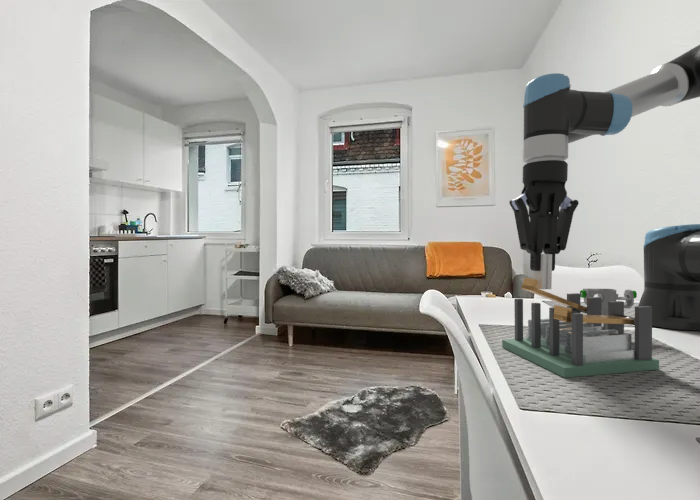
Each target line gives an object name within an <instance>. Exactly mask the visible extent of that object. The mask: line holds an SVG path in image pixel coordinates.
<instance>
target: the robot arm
mask: <svg viewBox="0 0 700 500" xmlns="http://www.w3.org/2000/svg"><path fill="white" fill-rule="evenodd" d="M570 82H571V81H570V78H569V76H568V75H565V74H564V73H557V72H555V73H547V74H542V75H539V76H537V77H534V78H533V79H531V80H530V81H528V82H527V84H526V85H525V91H524V98H523V151H522V153H523V154H522V157H523V159H522V162H523V163H525V164H524V165H523V166H522V183H523V188H522V190H521V195H518V197H516V198H513V199H512V198H511V199H510V200H509V205H510V207H511V209H512V211H513V214H514V218H515V225H516V231H517V235H518V242H519V246H520V247H519V248H520V249H521V250H523V251H525V252H527V253H528V254H529V255H530V256H529V259H530V260H529V264H530V266H529V267H530V271H532V272H533V273H532V274H533V275H532V276H533V277H532V279H536V280H538V283H537V286H536V288H538V289H540V290H552V277H553V276H552V275H553V272H554V271H555V268H556V255H558V254H560V252H561V251H565V250H566V248H567V244H568V240H569V235H570V231H571V225H572V222H573V221H572V220H573V217H574V212H575V211H576V209H577V207H578V205H579V200H577V199H572V198H570V197H569V196H568V192H567V190H566V183H567V181H568V175H569V174H568V171H569V170H568V166H569V164H568V162H566V161H567V160H568V159H569V144H570V143H574V142H576V141H579V140H582V139H585V138H588V137H590V136H595V135H596V136H598V135H600V136H602V137H603V136H614V135H617V134H619V133H621V132H622V131H624V129H626V127H628V125H629V123H630V122H631V119H632V118H633V117H635V116H638V115H640V114H642V113H644V112H647V111H651V110H653V109H655V108H657V107H658V108H659V107H660V106H661V107H671V106H674V105H676V104H679V103H683V102H686V101H689V100H692V99H696V98H700V44H698V45H697V46H695V47H693V48H691V49H690V50H687V51H686V52H684V53H683V54H681V55H679V56H678V57H676V58H674V59H672V60H670V61H668V62H666V63H663V64H661V65H658V66H657V67H656V68H654V69H653V70H652V71H651V72H650V74H647V75H645V76H642V77H640V78H638V79H635V80H632V81H630V82H626V83H625V84H621V85H619V86H617V87H615V88H612V89H610V90H607V91H605V92H604V91H583V90H578V89H577V90H576V89H571V87H572V85H571V83H570ZM527 207H528V208H527ZM644 235H645V237H644V245H642V246H643V279H644V280H643V281H644V283H643V284H644V285H643V286H644V287H643V292H642V294H641V297H640V300H639V303H638V306H650V307H652V327H656V328H657V327H658V328H663V329H671V330H682V331H697V332H698V331H700V223H691V224H679V225H672V226H671V225H670V226H663V227H657V228H653V229H651V230H649V231H647V232H646V233H645V234H644Z"/></svg>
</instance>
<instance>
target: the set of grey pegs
mask: <svg viewBox="0 0 700 500" xmlns="http://www.w3.org/2000/svg"><path fill="white" fill-rule="evenodd" d="M566 300H569V301H571V302H574V303H576V304H579V305H581V297H580V292H577V293H572V292H571V293H566ZM624 303H625V301H624V300H616V301H610V302H608V316H618V315H625V308H624ZM541 305H542V304H541V302H540V303H539V302H531V307H530V309H531V315H530V316H531V319H530V320H531V333H532V347H533V348H541V319H542V318H541V316H542V313H541V312H542V311H541V307H542V306H541ZM566 307H568V306H566ZM586 307H587V313H586V315H602V298H601V297H598V296H594V297H588V298H587V305H586ZM568 308H570V307H568ZM548 312H549V313H548V314H549V315H548V319H549V354H550V355H552V356H559V320H557V319H554V306H553V307H548ZM583 315H584V314H583V313H582V312H578V311H575V310H574V309H573V308H572V364H573V365H575V366H581V365H583ZM634 318H635V325H634V350H635V359H636V360H651V359H652V358H653V326H652V307H650V306H639V305H638V306H634ZM592 324H594V326H603V323H592ZM611 329H615V330H618V334H619V333H625V332H624V331H625V324H608V330H611ZM523 338H524V299H523V298H514V339H515V340H517V341H520V340H523Z"/></svg>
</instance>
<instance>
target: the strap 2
mask: <svg viewBox="0 0 700 500" xmlns="http://www.w3.org/2000/svg"><path fill="white" fill-rule="evenodd" d="M553 307H554V319H557V320H561V321H564V322H572V308H568V307H567V306H565V305H560V304H559V305H557V304H554V306H553ZM583 323H602V324H603V323H607V324H624V325H633V326H635V316H628V315H625V314H624V315H618V316H607V315H587V314H583Z"/></svg>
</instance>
